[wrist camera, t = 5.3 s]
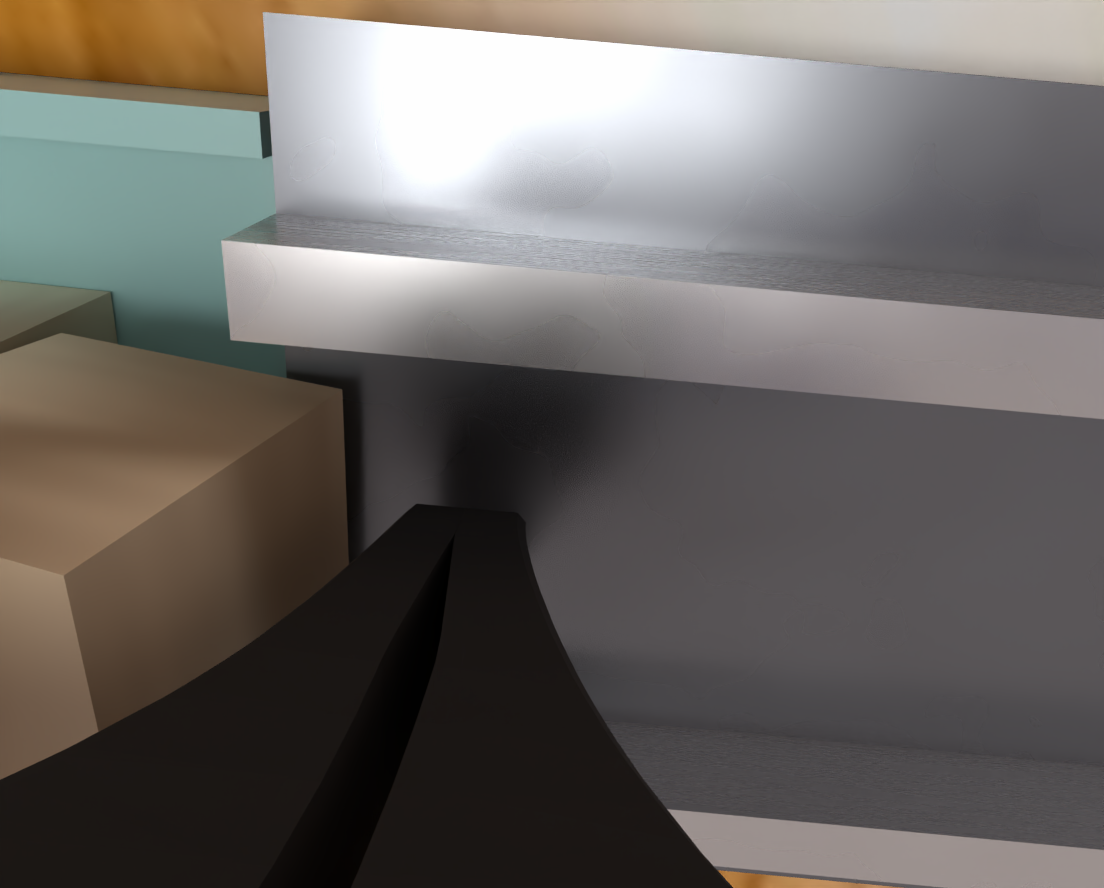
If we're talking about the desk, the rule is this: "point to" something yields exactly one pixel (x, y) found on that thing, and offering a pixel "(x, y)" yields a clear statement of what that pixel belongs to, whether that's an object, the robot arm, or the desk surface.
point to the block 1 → (52, 314)
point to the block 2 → (149, 527)
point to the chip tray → (136, 203)
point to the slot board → (735, 410)
